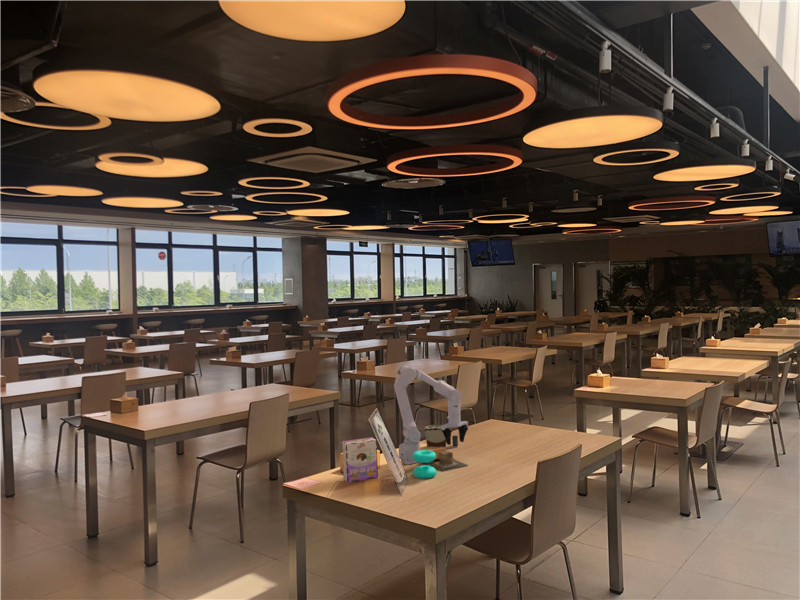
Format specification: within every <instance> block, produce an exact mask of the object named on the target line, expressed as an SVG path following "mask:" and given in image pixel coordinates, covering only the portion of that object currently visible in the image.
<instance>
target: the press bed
mask: <svg viewBox="0 0 800 600" xmlns="http://www.w3.org/2000/svg"><path fill="white" fill-rule="evenodd" d="M423 464H424V465H427V466H432V467H434V468H435V469H436V471H437V470H438V471H440V472H447V471H450V470H455V469H459V468H464V467H468V463H467V464H466V463H464V462H461V461H459V460H458V459H457V460H456V459H454V458H453V464H449V465H443V464H440V463H439V459H435V460H433V461H431V462H427V463H423Z"/></svg>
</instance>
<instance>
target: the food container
mask: <svg viewBox="0 0 800 600" xmlns="http://www.w3.org/2000/svg"><path fill="white" fill-rule="evenodd" d="M441 425H442V424H431V425H426V426H424V428H423V432H424V435H425V440H426V448H442V447H443V448H445V447H447V442H446V439H445V436H444V434H443V432H442V430H441Z"/></svg>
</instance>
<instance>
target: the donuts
mask: <svg viewBox="0 0 800 600" xmlns="http://www.w3.org/2000/svg"><path fill="white" fill-rule="evenodd" d="M430 450H431V449H428V450H427V449H420V450H419V451H416V452H414V453H413V459H414V460H415V461H417V462H418V463H422V464H424V463H427V462H431V461H433V460H434V459H435V458H436V454H435V452H433V451H430ZM412 474H413V476H414V477H415V478H416V479H417V478H418V479H424V480H425V479H426V480H427V479H433V478H434V477H435V476H436V475H437V469H435V468H434V467H432V466H428V465H426V464H424V465H418V466H416V467H415V468H414V469H413V471H412Z"/></svg>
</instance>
